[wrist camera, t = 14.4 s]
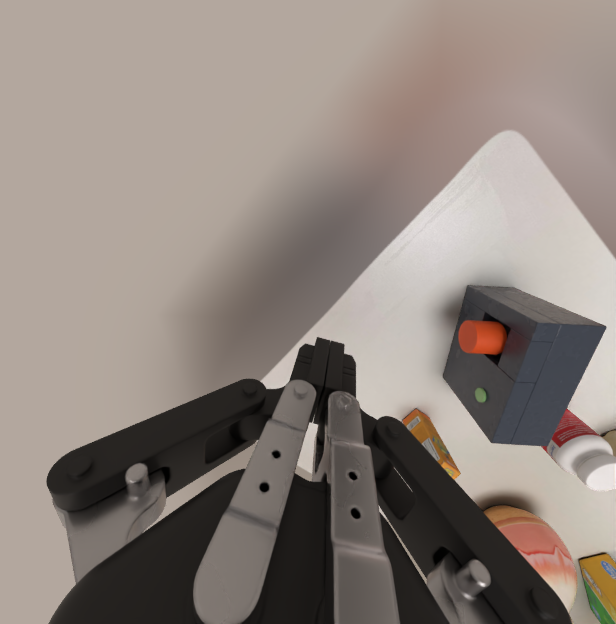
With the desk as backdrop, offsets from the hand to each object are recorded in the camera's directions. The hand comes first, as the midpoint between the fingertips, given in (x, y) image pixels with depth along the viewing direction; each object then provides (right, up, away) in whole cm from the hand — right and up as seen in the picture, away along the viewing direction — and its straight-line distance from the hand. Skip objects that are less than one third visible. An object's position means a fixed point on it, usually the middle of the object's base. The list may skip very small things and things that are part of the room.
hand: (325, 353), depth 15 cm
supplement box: (+16, -14, +29) cm, 36 cm away
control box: (+22, -1, +23) cm, 32 cm away
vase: (+34, -36, +36) cm, 62 cm away
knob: (+18, 0, +17) cm, 25 cm away
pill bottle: (+34, -13, +27) cm, 46 cm away
